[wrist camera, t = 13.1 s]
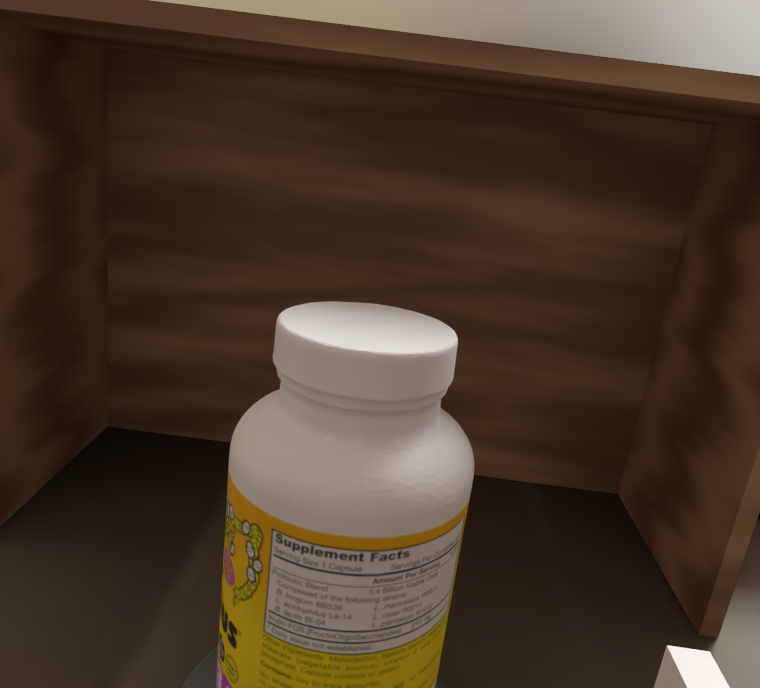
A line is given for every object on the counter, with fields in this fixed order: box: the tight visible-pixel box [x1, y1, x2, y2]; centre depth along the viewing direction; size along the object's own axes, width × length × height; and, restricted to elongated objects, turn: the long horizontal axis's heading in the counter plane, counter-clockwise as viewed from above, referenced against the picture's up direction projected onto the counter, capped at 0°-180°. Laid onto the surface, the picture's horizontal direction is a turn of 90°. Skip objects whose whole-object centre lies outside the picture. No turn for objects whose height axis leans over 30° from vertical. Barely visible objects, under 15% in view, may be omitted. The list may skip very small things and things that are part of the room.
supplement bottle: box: [216, 301, 474, 688], centre depth 19 cm, size 7×7×13 cm
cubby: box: [0, 0, 760, 638], centre depth 30 cm, size 12×32×21 cm, turn 87°
